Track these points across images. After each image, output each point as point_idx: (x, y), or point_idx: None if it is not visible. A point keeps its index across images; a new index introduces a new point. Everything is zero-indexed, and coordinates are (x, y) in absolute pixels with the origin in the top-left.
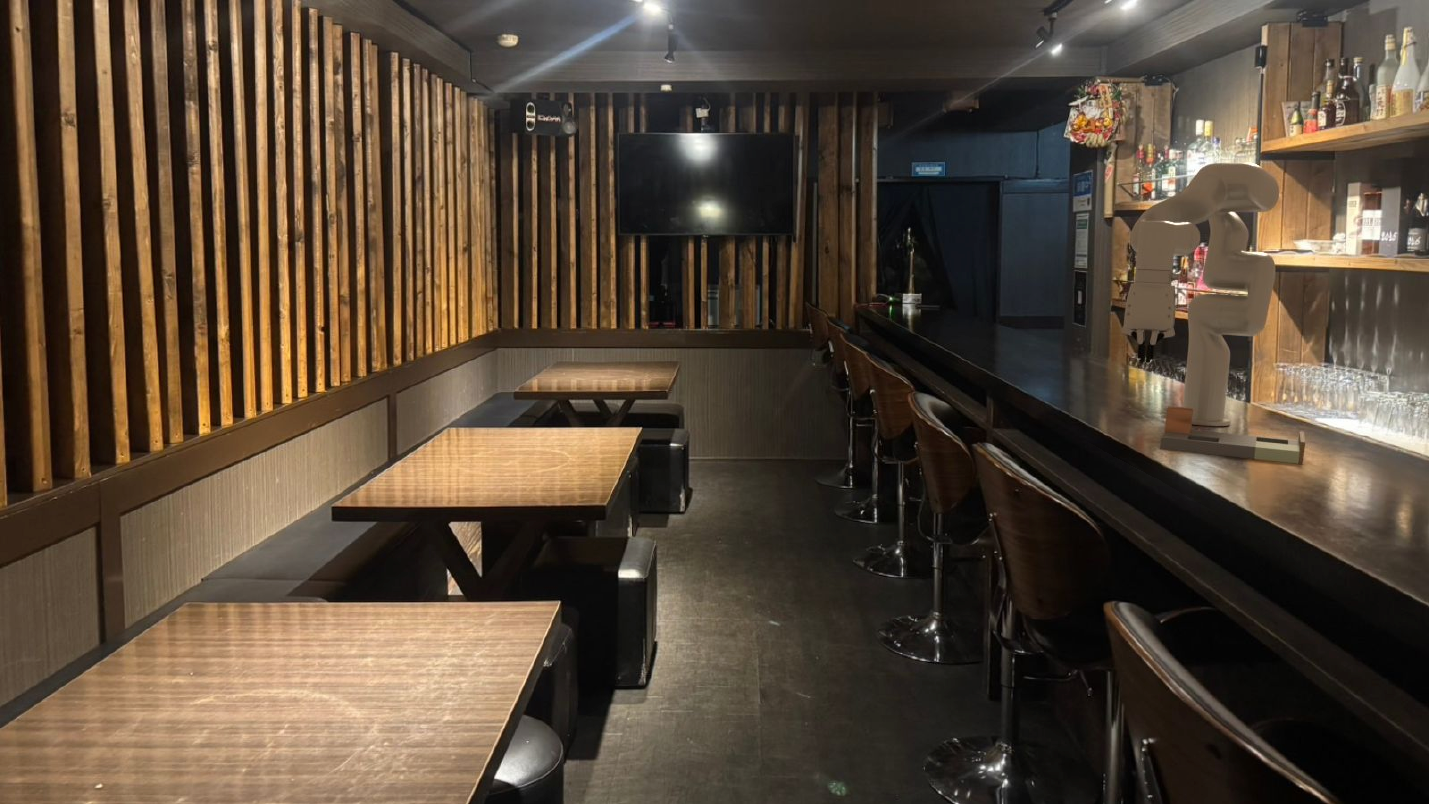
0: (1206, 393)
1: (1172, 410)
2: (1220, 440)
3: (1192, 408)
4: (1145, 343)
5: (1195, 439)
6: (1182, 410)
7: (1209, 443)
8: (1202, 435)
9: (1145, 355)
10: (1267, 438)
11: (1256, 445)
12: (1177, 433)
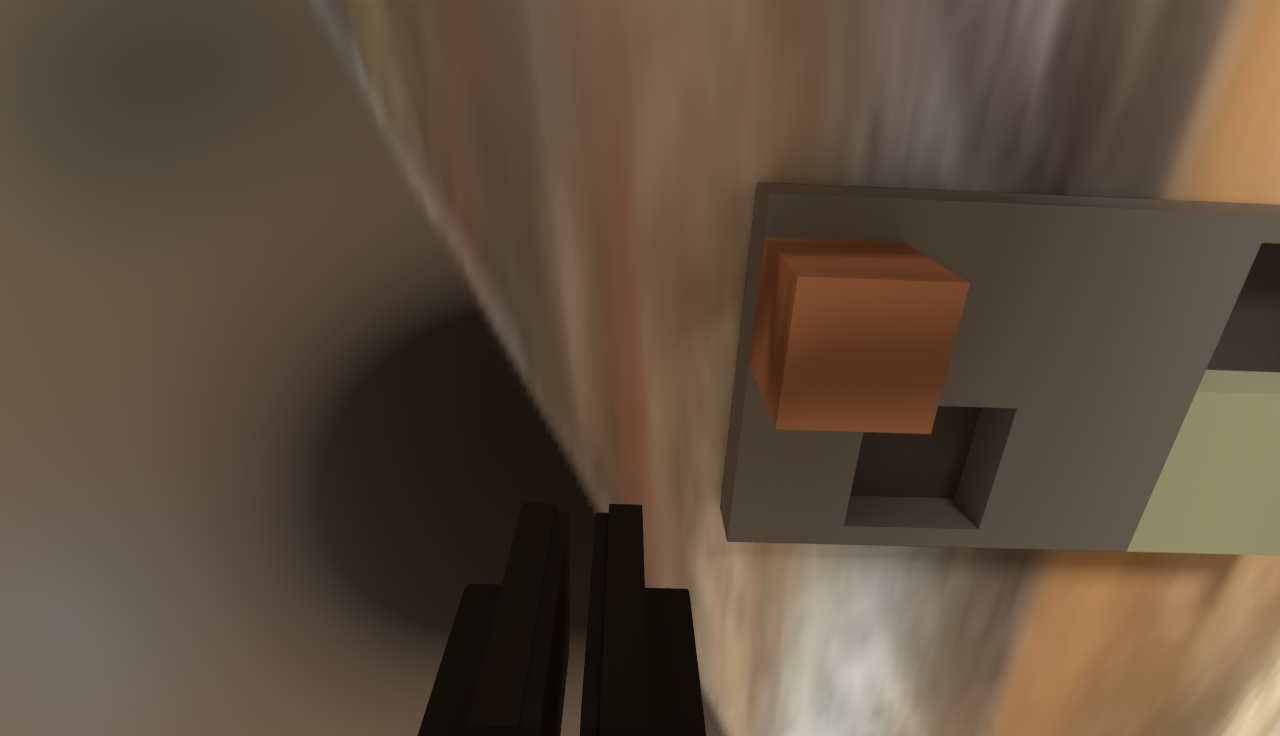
0: None
1: (809, 426)
2: (1003, 472)
3: (960, 296)
4: (512, 727)
5: None
6: (872, 431)
7: (935, 542)
8: None
9: (562, 570)
10: None
11: (1147, 512)
12: None
